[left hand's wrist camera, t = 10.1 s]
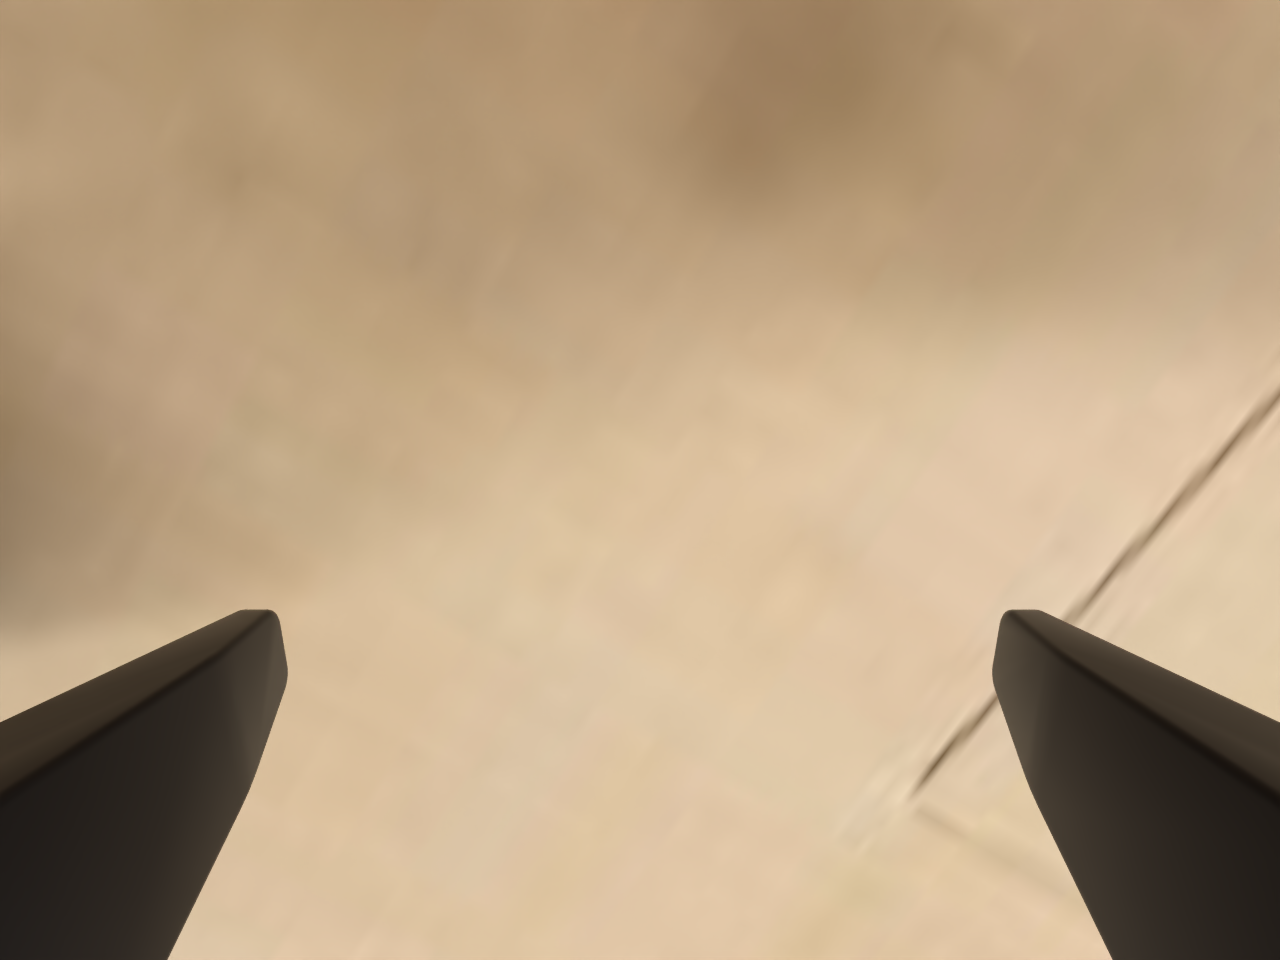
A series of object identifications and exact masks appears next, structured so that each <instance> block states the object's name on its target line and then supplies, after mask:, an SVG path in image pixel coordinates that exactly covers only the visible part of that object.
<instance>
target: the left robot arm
mask: <svg viewBox="0 0 1280 960" xmlns="http://www.w3.org/2000/svg"><path fill="white" fill-rule="evenodd" d="M287 676H288V668H287V661H286V656H285V650H284V644H283V638H282V632H281V626H280V621H279V619H278V616H277V614H276V613H275V612H273V611H272V610H240V611H237V612H235V613H233V614H231V615H229V616H227V617H225V618H222V619H220V620H218V621H216V622H214V623H212V624H210V625H207V626H205V627H203V628H201V629H199V630H197V631H195V632H192V633H190V634H188V635H186V636H184V637H182V638H180V639H178V640H175V641H173V642H171V643H169V644H167V645H165V646H163V647H160V648H158V649H156V650H154V651H152V652H150V653H148V654H145V655H143V656H141V657H139V658H137V659H135V660H133V661H131V662H128V663H126V664H124V665H122V666H120V667H118V668H116V669H113V670H111V671H109V672H107V673H105V674H103V675H101V676H98V677H96V678H94V679H92V680H90V681H88V682H86V683H84V684H81V685H79V686H77V687H75V688H73V689H71V690H69V691H66V692H64V693H62V694H60V695H58V696H56V697H54V698H51V699H49V700H47V701H45V702H43V703H41V704H39V705H37V706H34V707H32V708H30V709H28V710H26V711H24V712H22V713H19V714H17V715H15V716H13V717H11V718H9V719H7V720H5V721H2V722H0V960H167V959H168V957H169V955H170V953H171V951H172V949H173V947H174V945H175V943H176V941H177V939H178V937H179V935H180V933H181V931H182V929H183V927H184V924H185V922H186V920H187V918H188V916H189V914H190V912H191V910H192V908H193V906H194V904H195V902H196V900H197V898H198V896H199V894H200V892H201V890H202V887H203V885H204V883H205V881H206V879H207V877H208V875H209V873H210V871H211V869H212V867H213V865H214V863H215V861H216V859H217V857H218V855H219V852H220V850H221V848H222V846H223V844H224V842H225V840H226V838H227V836H228V834H229V832H230V830H231V828H232V826H233V824H234V822H235V820H236V818H237V815H238V813H239V811H240V809H241V807H242V805H243V803H244V801H245V798H246V796H247V794H248V792H249V790H250V787H251V784H252V782H253V779H254V777H255V774H256V771H257V768H258V766H259V763H260V760H261V757H262V754H263V751H264V748H265V745H266V742H267V740H268V737H269V734H270V731H271V728H272V725H273V722H274V719H275V716H276V714H277V711H278V708H279V705H280V702H281V699H282V696H283V693H284V690H285V687H286V683H287ZM992 676H993V683H994V687H995V690H996V693H997V696H998V699H999V702H1000V705H1001V708H1002V711H1003V714H1004V716H1005V719H1006V722H1007V725H1008V728H1009V731H1010V734H1011V737H1012V740H1013V742H1014V745H1015V748H1016V751H1017V754H1018V757H1019V760H1020V763H1021V765H1022V768H1023V771H1024V774H1025V777H1026V779H1027V782H1028V784H1029V787H1030V790H1031V792H1032V794H1033V796H1034V798H1035V801H1036V803H1037V805H1038V807H1039V809H1040V811H1041V813H1042V815H1043V818H1044V820H1045V822H1046V824H1047V826H1048V828H1049V830H1050V832H1051V834H1052V836H1053V838H1054V840H1055V842H1056V844H1057V846H1058V848H1059V850H1060V852H1061V855H1062V857H1063V859H1064V861H1065V863H1066V865H1067V867H1068V869H1069V871H1070V873H1071V875H1072V877H1073V879H1074V881H1075V883H1076V885H1077V887H1078V890H1079V892H1080V894H1081V896H1082V898H1083V900H1084V902H1085V904H1086V906H1087V908H1088V910H1089V912H1090V914H1091V916H1092V918H1093V920H1094V922H1095V924H1096V927H1097V929H1098V931H1099V933H1100V935H1101V937H1102V939H1103V941H1104V943H1105V945H1106V947H1107V949H1108V951H1109V953H1110V955H1111V957H1112V959H1113V960H1280V722H1278V721H1275V720H1273V719H1271V718H1269V717H1267V716H1265V715H1263V714H1261V713H1258V712H1256V711H1254V710H1252V709H1250V708H1248V707H1246V706H1243V705H1241V704H1239V703H1237V702H1235V701H1233V700H1231V699H1229V698H1226V697H1224V696H1222V695H1220V694H1218V693H1216V692H1214V691H1211V690H1209V689H1207V688H1205V687H1203V686H1201V685H1199V684H1196V683H1194V682H1192V681H1190V680H1188V679H1186V678H1184V677H1182V676H1179V675H1177V674H1175V673H1173V672H1171V671H1169V670H1167V669H1164V668H1162V667H1160V666H1158V665H1156V664H1154V663H1152V662H1149V661H1147V660H1145V659H1143V658H1141V657H1139V656H1137V655H1135V654H1132V653H1130V652H1128V651H1126V650H1124V649H1122V648H1120V647H1117V646H1115V645H1113V644H1111V643H1109V642H1107V641H1105V640H1102V639H1100V638H1098V637H1096V636H1094V635H1092V634H1090V633H1088V632H1085V631H1083V630H1081V629H1079V628H1077V627H1075V626H1073V625H1070V624H1068V623H1066V622H1064V621H1062V620H1060V619H1058V618H1055V617H1053V616H1051V615H1049V614H1047V613H1045V612H1043V611H1040V610H1008V611H1007V612H1005V613H1004V614H1003V616H1002V619H1001V621H1000V626H999V632H998V638H997V644H996V650H995V656H994V661H993V668H992Z"/></svg>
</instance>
